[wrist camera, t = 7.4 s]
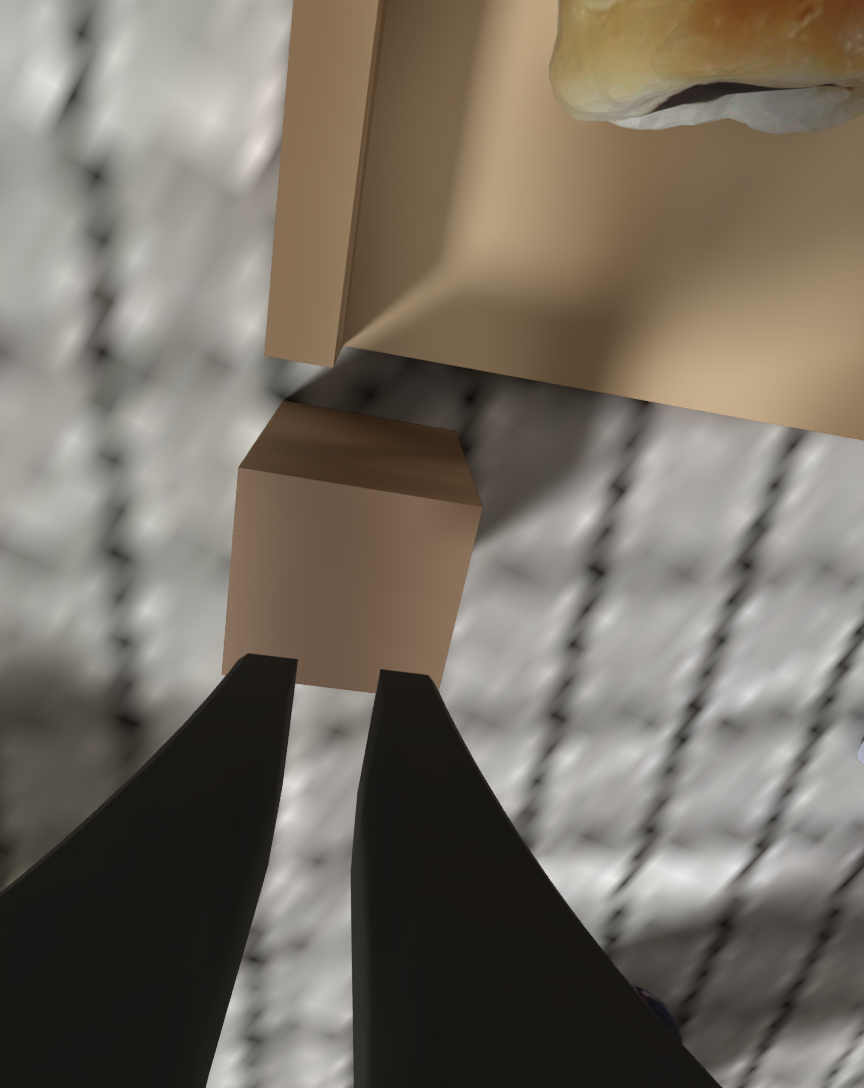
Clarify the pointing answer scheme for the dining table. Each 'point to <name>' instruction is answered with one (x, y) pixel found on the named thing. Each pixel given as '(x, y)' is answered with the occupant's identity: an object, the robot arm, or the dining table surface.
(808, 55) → the pastry
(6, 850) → the dining table surface
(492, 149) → the board
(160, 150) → the dining table surface
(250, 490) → the walnut block
